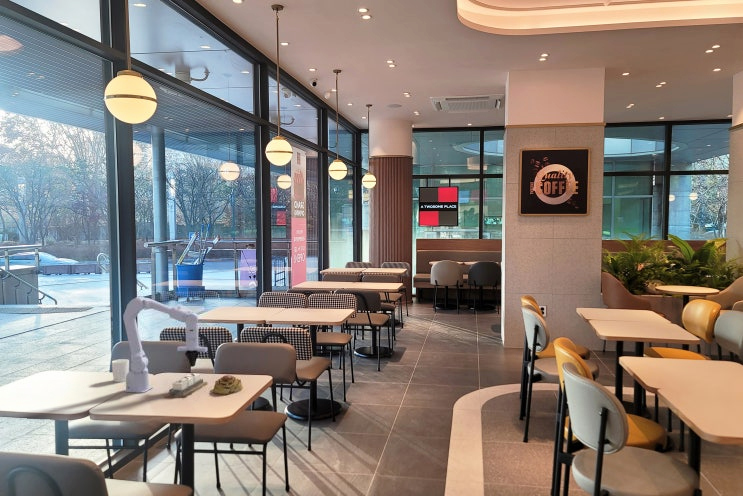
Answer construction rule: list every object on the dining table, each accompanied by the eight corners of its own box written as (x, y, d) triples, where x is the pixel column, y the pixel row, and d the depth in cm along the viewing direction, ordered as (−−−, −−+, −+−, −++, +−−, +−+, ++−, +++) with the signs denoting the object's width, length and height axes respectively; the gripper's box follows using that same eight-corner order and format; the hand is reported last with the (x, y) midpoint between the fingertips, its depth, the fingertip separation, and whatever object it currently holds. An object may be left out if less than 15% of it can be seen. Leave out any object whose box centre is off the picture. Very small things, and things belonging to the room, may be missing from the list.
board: (164, 396, 240) (164, 390, 240) (188, 383, 261) (188, 377, 261) (185, 397, 238) (184, 391, 238) (207, 384, 259) (207, 378, 259)
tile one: (172, 389, 242) (172, 382, 241) (178, 386, 246) (177, 379, 246) (182, 390, 241) (181, 382, 241) (187, 387, 245) (187, 380, 245)
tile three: (186, 382, 253) (186, 375, 253) (191, 379, 258) (190, 372, 258) (195, 382, 253) (195, 375, 252) (199, 380, 257) (199, 373, 257)
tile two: (179, 386, 247) (179, 378, 247) (184, 383, 252) (184, 376, 252) (188, 386, 247) (188, 379, 247) (193, 383, 251) (193, 376, 251)
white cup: (125, 382, 263) (124, 362, 263) (109, 382, 264) (108, 362, 263) (132, 378, 271) (131, 358, 271) (117, 378, 271) (116, 359, 271)
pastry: (212, 396, 240) (211, 379, 240) (214, 387, 255) (214, 370, 255) (242, 394, 243) (242, 376, 243) (242, 385, 258) (242, 368, 258)
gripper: (210, 336, 257) (210, 364, 258) (182, 336, 260) (183, 363, 260) (203, 339, 250) (203, 368, 251) (174, 339, 253) (175, 367, 253)
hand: (192, 366), depth 255 cm, fingers closed
